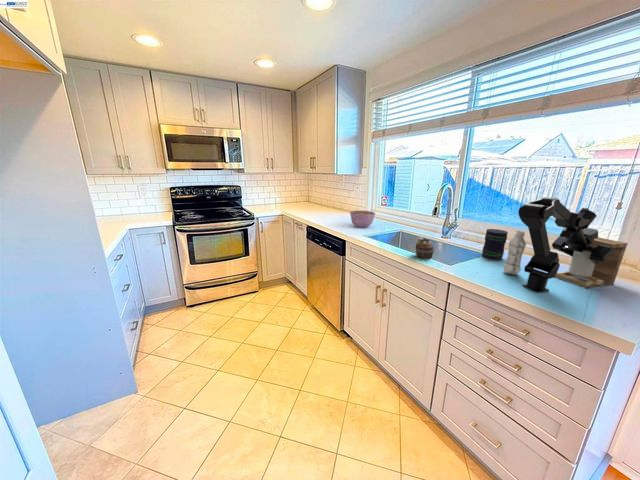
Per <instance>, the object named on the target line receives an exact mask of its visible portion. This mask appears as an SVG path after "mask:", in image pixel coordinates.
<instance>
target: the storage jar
mask: <svg viewBox="0 0 640 480" xmlns="http://www.w3.org/2000/svg"><path fill="white" fill-rule="evenodd" d="M508 234H509V232H508V231H506V230H503V229H496V228H495V229H494V228H488V229H486V231H485V236H484V245H483V247H482V253H481V257H482V258H484V259H486V260H490V261H502V260H503V257H504V254H505V245H506V242H507V239H508Z"/></svg>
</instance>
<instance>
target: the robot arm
mask: <svg viewBox="0 0 640 480" xmlns="http://www.w3.org/2000/svg"><path fill="white" fill-rule="evenodd" d="M517 213H518V217H519V219H520V221H521V222H522V223H523V224H524V225H525V226H526V227H527V228H528V231H529V235H530V236H529V237H530V241H531V246H532V250H533V253H534V255H532V257H531V258H530V260H529V261H528V262H527V263H526V265H525V266H524V272H525V273H529V274H528V278H527V283H525V284H522V287H523V288H525V289H529V290H531V291H533V292H535V293H546V292H550V289H549V288H547V285H548V281H549V280H550V279H554V278H555V275H556V273H558V272H559V269H560V266H561V264H560V258H559V254H558V252H556V251H553V250H557V251H560V252H561V253H564V254H565V255H568V256H570V257H571V258H572V256H573V253H574V251H577V252H581V253H582V252H583V251H588V252H591V255H590V258H589V259H590V260H591V261H592V262H594V263H595V264H597V263H598V262H599V261H605V260H606V259H607V258H608V257H609V256H610V255H611V254H612V253H613V249H612V248H611V247H608V246H603V245H598V246H597V247H593V246H589V244H590V245H591V244H592V243H593V242H592V240H594V239H596V238H598V237H599V230H598V229H595V228H590V226H591V224H592V223H593V221H594V220H595V219H596V218H597V214H596V213H595V212H594V211H592V210H589V208H588V207H582V208H581V209H580V210H579V211H578V212H572V211H570V210H569V209H568V208H567V207H566V206H565V205H564V204H562V202H561V200H560V199H559V198H556V197H547V196H546V197H541V198H539V199H536V200H532V201H529V202H526V203H524V204H523V205H521V206H520V207H519V208H518V212H517ZM550 217H553V218H554V223H555V225H556V226H557V227H559V228H562V230H561V232H560V233H559V235H558V237H557V238H556V239H555V240H554V241H553V242H552V244H551V247H552V249H553V250H552V251H551V248H550V240H549V237H548V236H549V235H548V231H547V227H546V223H547V222H548V220H549V219H550Z"/></svg>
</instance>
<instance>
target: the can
mask: <svg viewBox="0 0 640 480" xmlns="http://www.w3.org/2000/svg"><path fill="white" fill-rule="evenodd" d="M590 255H591V252H588V251H583V252H582V253H581V252H577V251H574V253H573V256H572V257H571V260H570V263H569V267H568V271H569V272H570V273H571V274H572V275H575V276H579V277H590V276H592V273H593V270H594V267H595V263H594V262H592V261H591V260H590V259H589V258H590Z"/></svg>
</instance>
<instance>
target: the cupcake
mask: <svg viewBox="0 0 640 480" xmlns="http://www.w3.org/2000/svg"><path fill="white" fill-rule="evenodd" d="M434 252H435V248H434V245H433V244H432V241H430V239H427V238H425V237H424V238H423V239H421V238H420V239H419V238H418V240H417V242H416V244H415V255H416V256H415V257H417V258H418V259H422V260H431V259H433V255H434Z"/></svg>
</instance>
